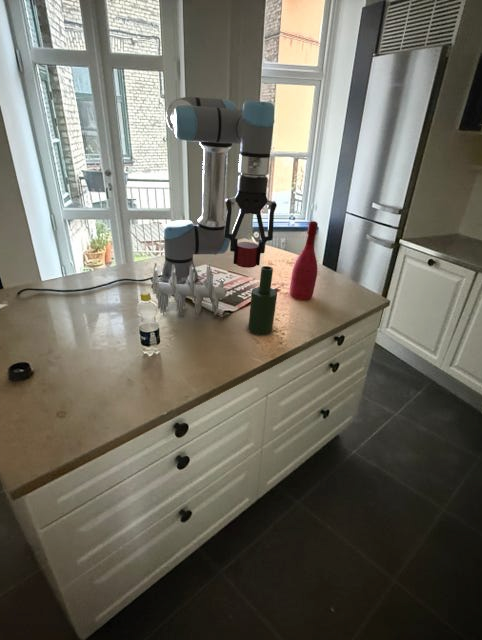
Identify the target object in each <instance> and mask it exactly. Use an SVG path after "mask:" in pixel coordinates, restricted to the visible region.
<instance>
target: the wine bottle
mask: <svg viewBox="0 0 482 640" xmlns="http://www.w3.org/2000/svg"><path fill="white" fill-rule="evenodd" d="M317 230H318V222H317V221H315V220H311V221H308V228H307V231H306V234H307V237H306V241H305V244H304V246H303V248H302V250H301V252H300V253H299V254H298V257H297V258H296V259H295V262H294V265H293V267H292V272H291V278H290V285H289V296H290V297H291V298H292V299H294V300H297V301H309V300H311V299H312V298H313V295H314V290H315V287H316V282H317V278H318V261H317V257H316V252H315V239H316V238H315V237H316V234H317Z"/></svg>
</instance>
